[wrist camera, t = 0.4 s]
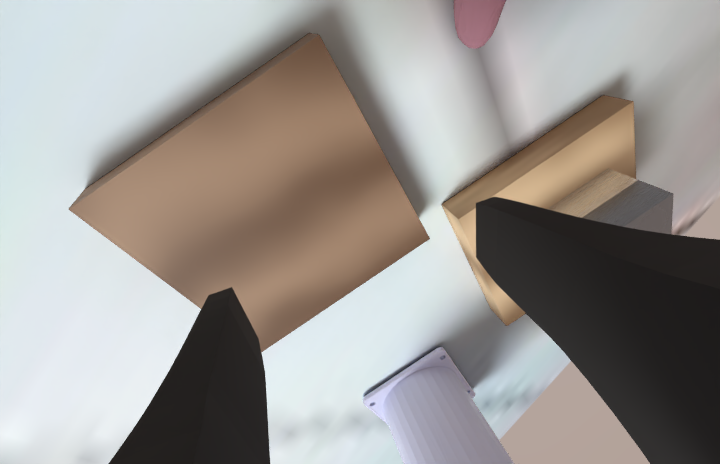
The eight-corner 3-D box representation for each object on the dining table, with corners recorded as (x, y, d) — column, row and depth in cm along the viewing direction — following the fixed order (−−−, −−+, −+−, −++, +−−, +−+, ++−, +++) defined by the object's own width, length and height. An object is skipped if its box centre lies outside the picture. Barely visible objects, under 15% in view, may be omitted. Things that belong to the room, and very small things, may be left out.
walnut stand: (414, 222, 22) (429, 238, 21) (257, 329, 23) (260, 353, 21) (309, 33, 15) (319, 34, 14) (84, 189, 16) (68, 209, 14)
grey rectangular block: (613, 222, 25) (670, 252, 22) (518, 285, 26) (561, 324, 22) (608, 168, 23) (673, 193, 19) (502, 239, 23) (548, 276, 19)
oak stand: (614, 226, 29) (637, 239, 27) (491, 309, 29) (506, 326, 28) (603, 95, 22) (633, 101, 20) (441, 204, 22) (458, 219, 21)
